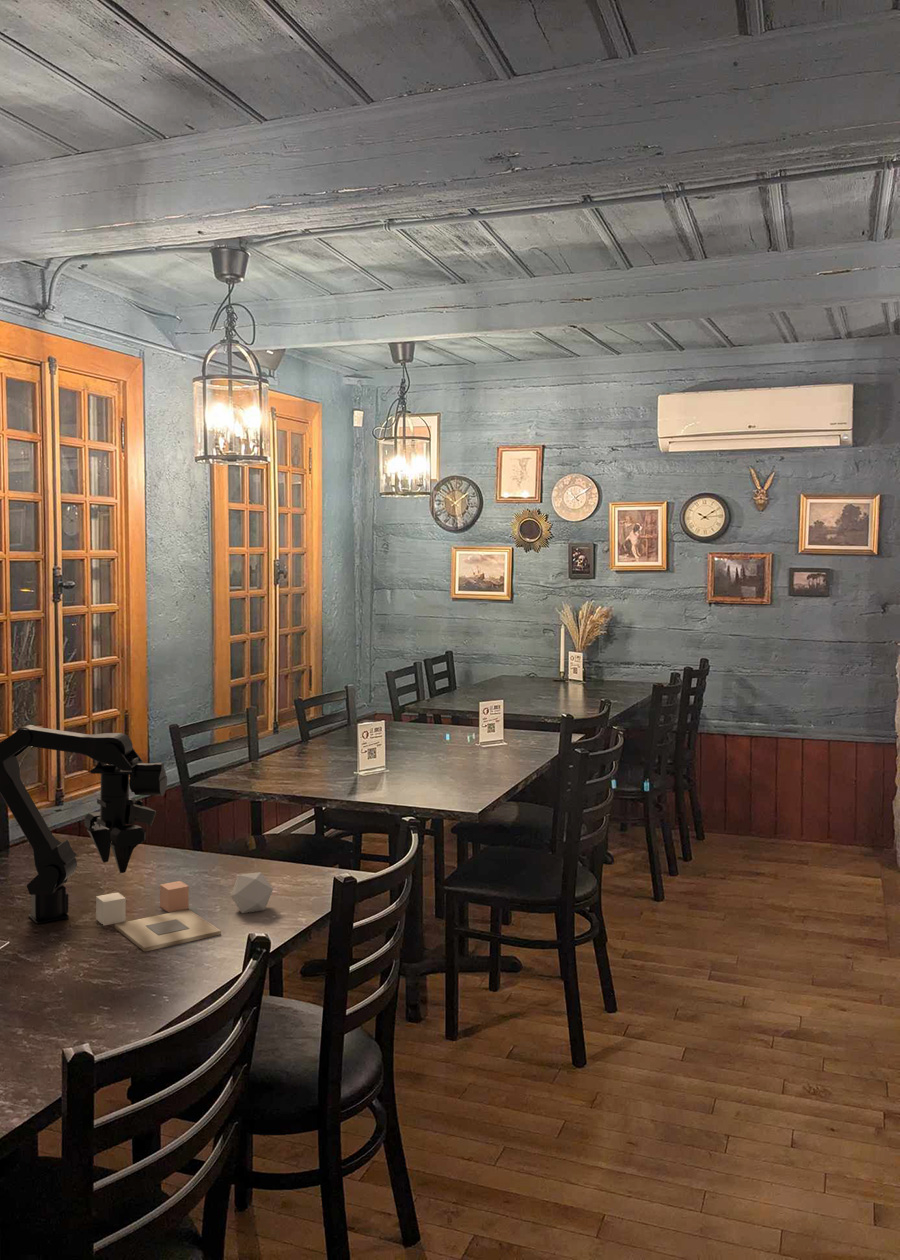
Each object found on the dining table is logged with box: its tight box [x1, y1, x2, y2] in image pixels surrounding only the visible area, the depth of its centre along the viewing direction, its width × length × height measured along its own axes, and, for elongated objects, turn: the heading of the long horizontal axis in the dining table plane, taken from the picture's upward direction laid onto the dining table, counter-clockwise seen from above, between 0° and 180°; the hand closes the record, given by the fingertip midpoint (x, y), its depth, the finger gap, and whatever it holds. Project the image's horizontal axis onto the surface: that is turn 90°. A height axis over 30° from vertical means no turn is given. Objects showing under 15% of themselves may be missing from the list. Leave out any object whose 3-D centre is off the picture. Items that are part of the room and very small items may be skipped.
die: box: [229, 871, 274, 914], centre depth 220 cm, size 8×9×10 cm
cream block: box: [95, 892, 127, 926], centre depth 212 cm, size 5×5×5 cm
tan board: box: [114, 908, 222, 952], centre depth 206 cm, size 16×16×1 cm
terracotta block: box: [159, 880, 190, 913], centre depth 221 cm, size 5×5×5 cm
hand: (113, 867), depth 213 cm, fingers open, 9 cm apart
